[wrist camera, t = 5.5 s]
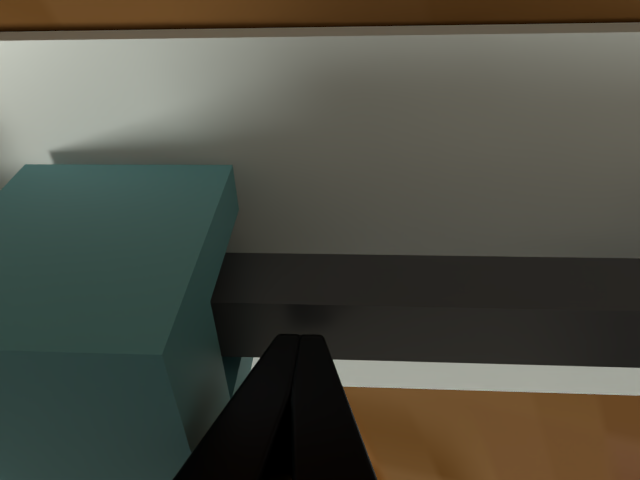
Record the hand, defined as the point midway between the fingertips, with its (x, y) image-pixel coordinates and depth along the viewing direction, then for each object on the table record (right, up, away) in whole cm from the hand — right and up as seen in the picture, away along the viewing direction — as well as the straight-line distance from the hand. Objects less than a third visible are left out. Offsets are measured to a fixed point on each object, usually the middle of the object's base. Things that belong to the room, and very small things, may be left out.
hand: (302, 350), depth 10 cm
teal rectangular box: (-3, +2, +3) cm, 5 cm away
